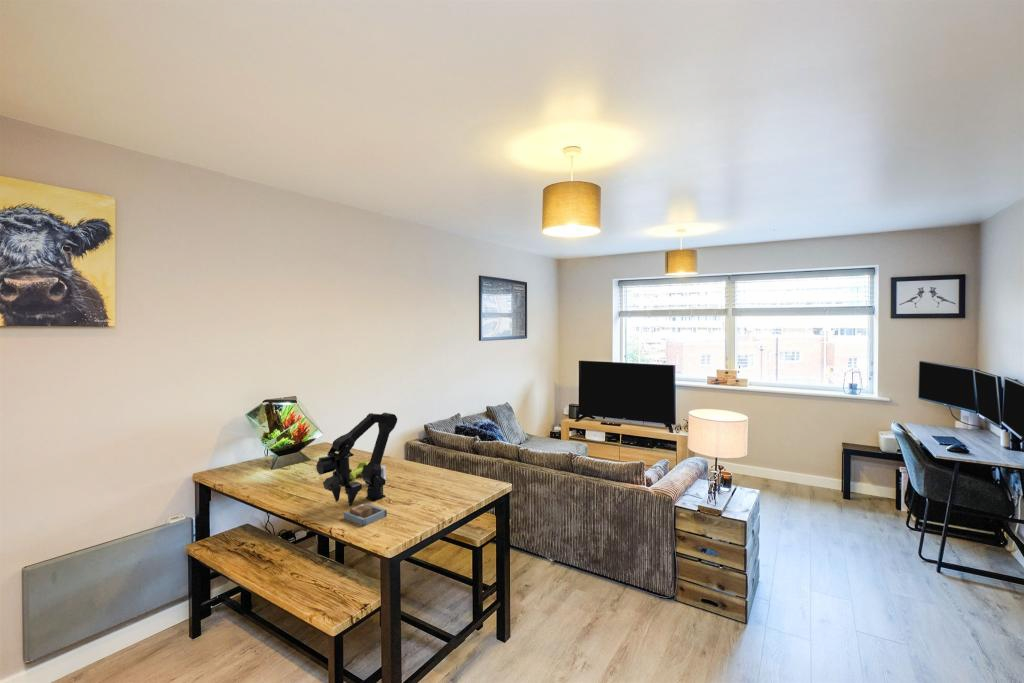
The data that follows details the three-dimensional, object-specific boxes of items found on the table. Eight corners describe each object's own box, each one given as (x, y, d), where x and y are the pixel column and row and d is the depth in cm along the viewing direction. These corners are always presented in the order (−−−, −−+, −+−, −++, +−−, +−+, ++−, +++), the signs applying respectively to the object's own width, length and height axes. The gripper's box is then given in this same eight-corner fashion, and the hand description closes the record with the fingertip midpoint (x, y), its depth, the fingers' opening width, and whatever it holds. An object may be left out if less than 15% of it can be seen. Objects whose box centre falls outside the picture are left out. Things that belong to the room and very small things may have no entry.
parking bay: (366, 508, 201) (366, 503, 201) (386, 515, 193) (386, 510, 193) (343, 518, 192) (343, 512, 191) (364, 526, 184) (363, 520, 184)
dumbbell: (352, 485, 230) (351, 471, 229) (339, 483, 233) (338, 469, 232) (373, 474, 245) (372, 461, 245) (360, 473, 248) (360, 459, 248)
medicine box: (386, 482, 233) (385, 465, 233) (384, 485, 229) (383, 468, 229) (370, 482, 233) (369, 465, 233) (368, 485, 229) (367, 468, 228)
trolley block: (362, 512, 197) (362, 503, 197) (372, 517, 193) (372, 507, 193) (350, 517, 192) (349, 508, 192) (359, 522, 188) (359, 512, 188)
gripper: (312, 469, 198) (314, 505, 199) (339, 477, 188) (341, 515, 189) (335, 462, 208) (336, 496, 208) (362, 469, 197) (363, 505, 198)
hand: (343, 503), depth 201 cm, fingers open, 9 cm apart
